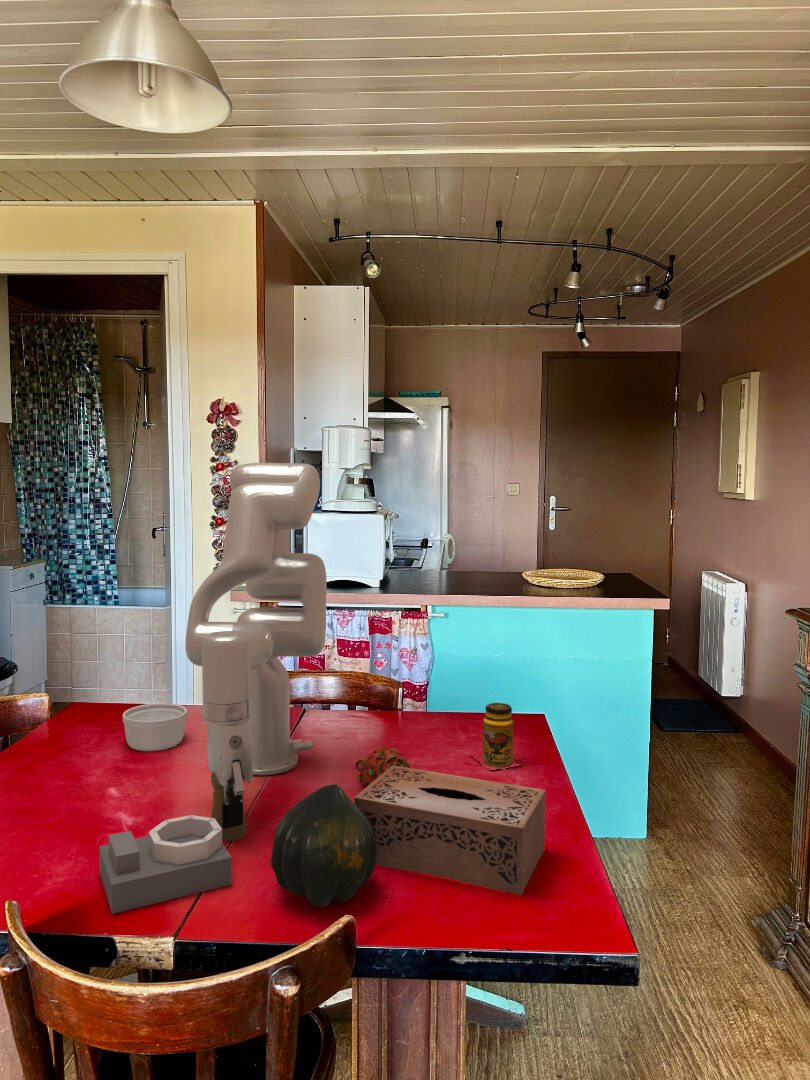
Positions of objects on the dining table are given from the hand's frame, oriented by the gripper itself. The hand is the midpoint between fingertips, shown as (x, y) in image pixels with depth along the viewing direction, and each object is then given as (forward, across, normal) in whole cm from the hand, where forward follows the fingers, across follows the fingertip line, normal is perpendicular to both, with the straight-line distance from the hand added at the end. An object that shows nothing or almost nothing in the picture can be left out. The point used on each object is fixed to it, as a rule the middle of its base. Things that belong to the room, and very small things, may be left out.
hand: (228, 818), depth 126 cm
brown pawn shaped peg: (+3, 0, 0) cm, 3 cm away
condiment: (+3, +6, -57) cm, 57 cm away
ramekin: (+3, +49, +2) cm, 49 cm away
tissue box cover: (+3, -23, -28) cm, 36 cm away
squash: (+3, -23, -7) cm, 24 cm away
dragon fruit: (+3, +4, -30) cm, 30 cm away
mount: (+2, -10, +12) cm, 16 cm away
